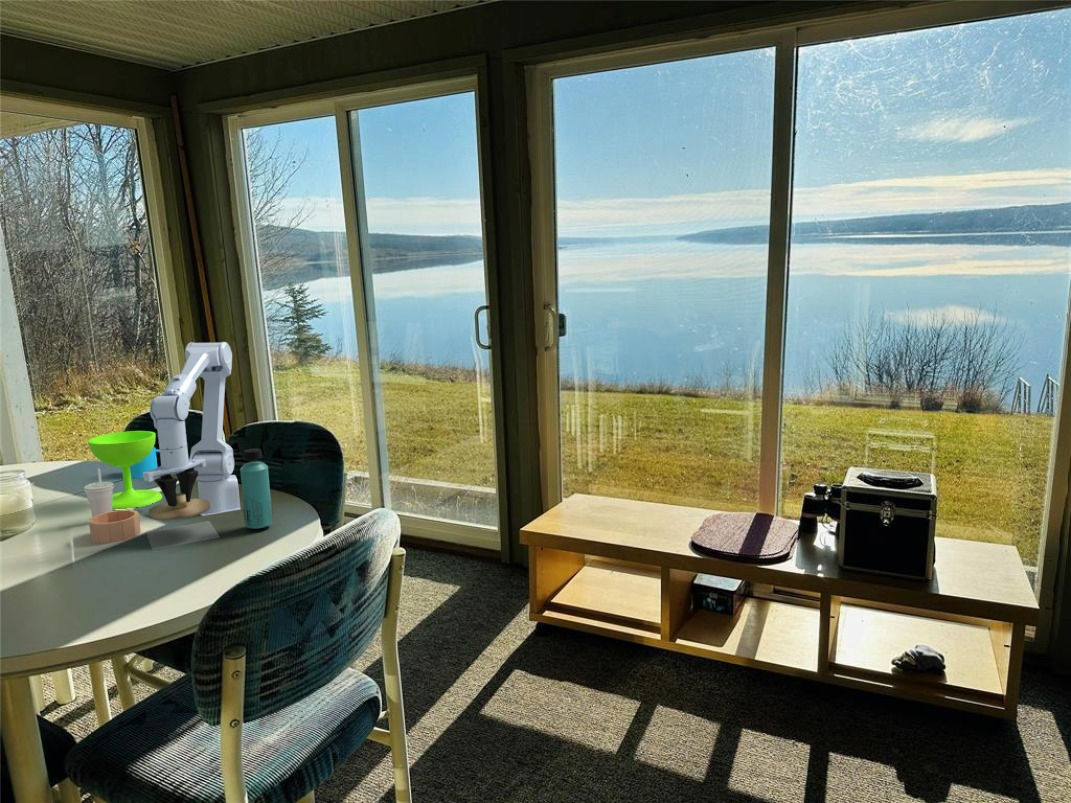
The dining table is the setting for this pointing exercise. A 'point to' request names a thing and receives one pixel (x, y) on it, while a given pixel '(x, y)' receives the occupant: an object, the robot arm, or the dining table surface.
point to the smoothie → (99, 496)
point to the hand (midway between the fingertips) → (179, 503)
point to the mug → (144, 465)
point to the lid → (179, 508)
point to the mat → (181, 535)
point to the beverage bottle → (256, 491)
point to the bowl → (114, 526)
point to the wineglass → (126, 463)
